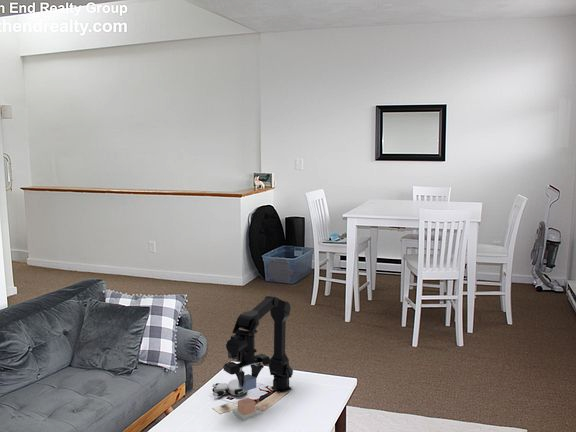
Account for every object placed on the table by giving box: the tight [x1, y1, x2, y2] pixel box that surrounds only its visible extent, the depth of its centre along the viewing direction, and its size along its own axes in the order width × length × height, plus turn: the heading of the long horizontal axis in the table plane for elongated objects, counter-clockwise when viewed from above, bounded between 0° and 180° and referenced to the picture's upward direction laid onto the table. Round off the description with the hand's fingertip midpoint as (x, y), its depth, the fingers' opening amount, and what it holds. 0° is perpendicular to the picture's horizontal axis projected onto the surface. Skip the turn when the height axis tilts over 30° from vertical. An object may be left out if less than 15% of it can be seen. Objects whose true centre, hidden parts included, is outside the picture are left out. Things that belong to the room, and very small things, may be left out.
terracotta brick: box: [237, 397, 256, 415], centre depth 226 cm, size 5×5×4 cm
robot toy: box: [212, 378, 247, 397], centre depth 245 cm, size 12×4×15 cm
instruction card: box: [212, 401, 238, 415], centre depth 231 cm, size 9×6×1 cm, turn 128°
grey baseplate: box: [231, 408, 261, 421], centre depth 227 cm, size 8×8×1 cm
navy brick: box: [239, 373, 257, 392], centre depth 225 cm, size 5×5×4 cm
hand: (247, 384), depth 225 cm, fingers closed on navy brick, 5 cm apart
